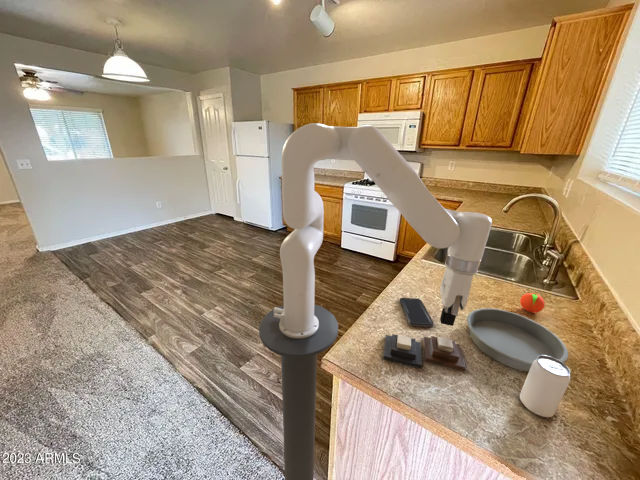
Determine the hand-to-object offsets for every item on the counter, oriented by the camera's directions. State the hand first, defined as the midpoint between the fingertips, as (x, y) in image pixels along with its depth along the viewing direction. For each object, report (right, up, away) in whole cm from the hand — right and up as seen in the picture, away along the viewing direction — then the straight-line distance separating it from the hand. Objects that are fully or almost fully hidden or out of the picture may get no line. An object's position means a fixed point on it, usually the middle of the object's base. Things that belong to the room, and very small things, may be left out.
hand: (446, 322), depth 72 cm
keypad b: (0, -10, +3) cm, 10 cm away
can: (+16, -16, -11) cm, 25 cm away
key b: (+1, -8, +2) cm, 8 cm away
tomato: (+42, -4, +24) cm, 48 cm away
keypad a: (-11, -9, +4) cm, 15 cm away
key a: (-11, -7, +3) cm, 13 cm away
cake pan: (+23, -9, +8) cm, 26 cm away
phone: (-1, -3, +21) cm, 22 cm away
